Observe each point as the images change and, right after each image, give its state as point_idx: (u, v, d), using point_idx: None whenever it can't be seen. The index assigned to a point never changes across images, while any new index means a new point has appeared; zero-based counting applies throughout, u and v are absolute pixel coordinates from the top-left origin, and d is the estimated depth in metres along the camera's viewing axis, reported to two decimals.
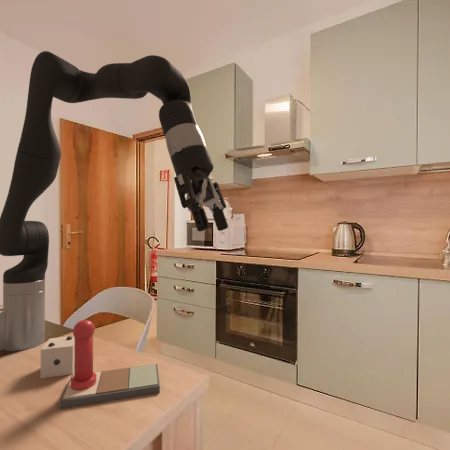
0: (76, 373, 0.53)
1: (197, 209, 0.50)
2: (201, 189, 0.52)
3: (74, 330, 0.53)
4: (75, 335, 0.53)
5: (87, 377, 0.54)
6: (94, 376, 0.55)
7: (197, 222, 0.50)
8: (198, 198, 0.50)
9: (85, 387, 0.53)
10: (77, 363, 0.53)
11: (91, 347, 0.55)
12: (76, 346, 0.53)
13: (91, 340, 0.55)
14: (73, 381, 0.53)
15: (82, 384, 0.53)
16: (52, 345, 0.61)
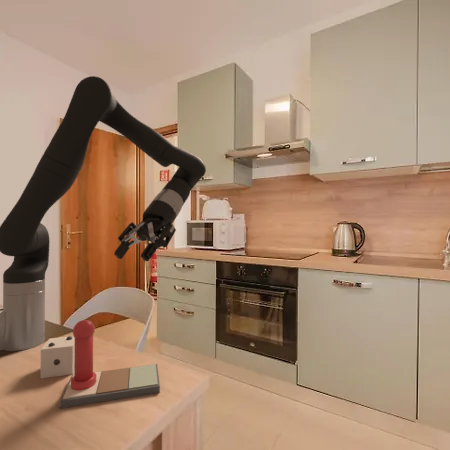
0: (76, 373, 0.53)
1: (156, 248, 0.65)
2: None
3: (74, 330, 0.53)
4: (75, 335, 0.53)
5: (87, 377, 0.54)
6: (94, 376, 0.55)
7: (150, 252, 0.63)
8: None
9: (85, 387, 0.53)
10: (77, 363, 0.53)
11: (91, 347, 0.55)
12: (76, 346, 0.53)
13: (91, 340, 0.54)
14: (73, 381, 0.53)
15: (82, 384, 0.53)
16: (52, 345, 0.61)
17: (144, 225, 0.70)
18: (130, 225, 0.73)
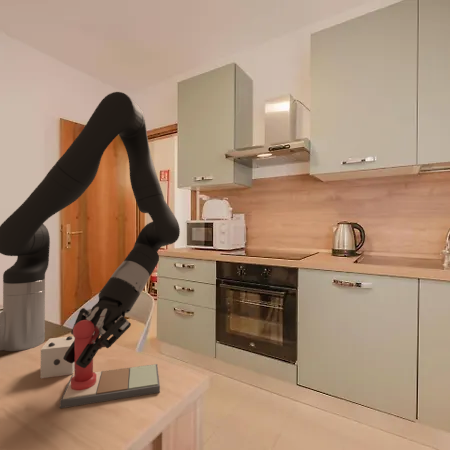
0: (76, 373, 0.53)
1: (97, 349, 0.54)
2: None
3: (74, 330, 0.53)
4: (75, 335, 0.53)
5: (87, 377, 0.54)
6: (94, 376, 0.55)
7: (87, 358, 0.52)
8: None
9: (85, 387, 0.53)
10: None
11: None
12: (76, 346, 0.53)
13: None
14: (73, 381, 0.53)
15: (82, 384, 0.53)
16: (52, 345, 0.61)
17: (99, 310, 0.59)
18: (81, 312, 0.60)
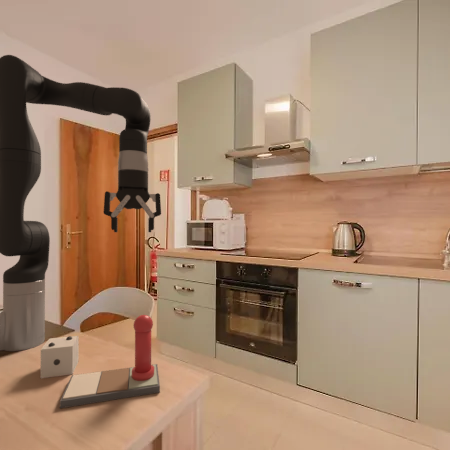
0: (137, 365, 0.57)
1: None
2: None
3: (135, 324, 0.56)
4: (137, 329, 0.56)
5: (147, 369, 0.57)
6: (152, 368, 0.58)
7: (153, 226, 0.76)
8: None
9: (146, 378, 0.56)
10: (138, 355, 0.56)
11: (150, 340, 0.58)
12: (137, 340, 0.57)
13: (150, 334, 0.58)
14: (134, 372, 0.57)
15: (144, 375, 0.56)
16: (52, 345, 0.61)
17: (130, 197, 0.73)
18: (108, 196, 0.72)
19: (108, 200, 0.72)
